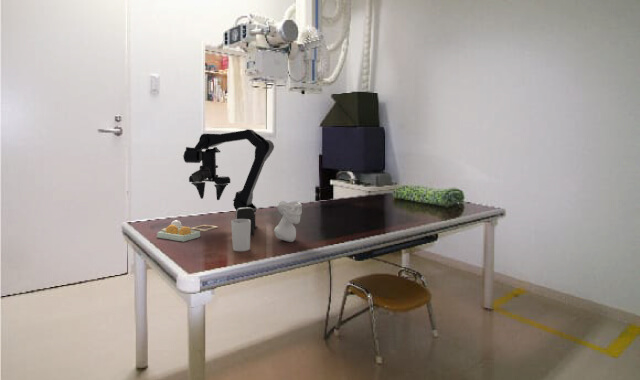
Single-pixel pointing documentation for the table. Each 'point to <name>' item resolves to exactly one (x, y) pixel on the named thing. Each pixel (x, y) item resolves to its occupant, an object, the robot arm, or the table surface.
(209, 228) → the collar
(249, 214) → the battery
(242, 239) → the drinking glass
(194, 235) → the green dish
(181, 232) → the orange ball
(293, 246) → the table surface
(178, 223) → the white ball
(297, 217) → the white figurine
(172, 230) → the orange ball
